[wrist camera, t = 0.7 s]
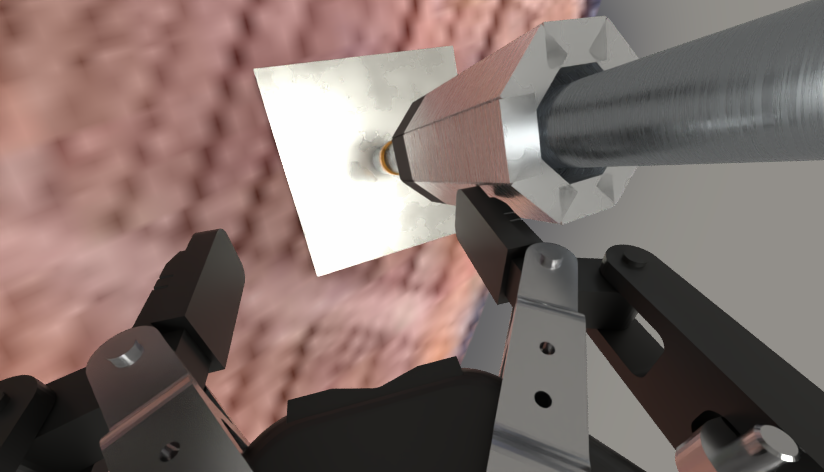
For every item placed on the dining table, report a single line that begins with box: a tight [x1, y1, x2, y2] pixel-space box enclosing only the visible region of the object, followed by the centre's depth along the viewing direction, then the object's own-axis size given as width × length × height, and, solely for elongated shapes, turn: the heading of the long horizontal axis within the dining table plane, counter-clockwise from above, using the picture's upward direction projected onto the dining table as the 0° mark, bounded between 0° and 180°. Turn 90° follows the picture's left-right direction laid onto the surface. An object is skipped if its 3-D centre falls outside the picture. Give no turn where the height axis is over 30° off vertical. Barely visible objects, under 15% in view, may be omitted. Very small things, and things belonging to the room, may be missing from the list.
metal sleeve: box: [403, 16, 638, 225], centre depth 13 cm, size 6×6×8 cm
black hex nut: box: [392, 93, 446, 204], centre depth 18 cm, size 6×6×2 cm
